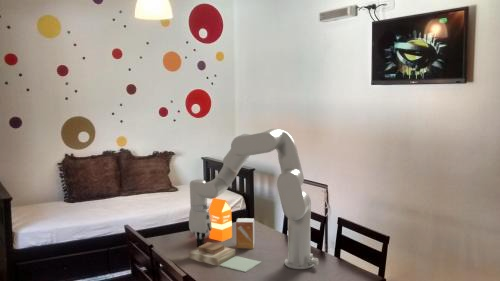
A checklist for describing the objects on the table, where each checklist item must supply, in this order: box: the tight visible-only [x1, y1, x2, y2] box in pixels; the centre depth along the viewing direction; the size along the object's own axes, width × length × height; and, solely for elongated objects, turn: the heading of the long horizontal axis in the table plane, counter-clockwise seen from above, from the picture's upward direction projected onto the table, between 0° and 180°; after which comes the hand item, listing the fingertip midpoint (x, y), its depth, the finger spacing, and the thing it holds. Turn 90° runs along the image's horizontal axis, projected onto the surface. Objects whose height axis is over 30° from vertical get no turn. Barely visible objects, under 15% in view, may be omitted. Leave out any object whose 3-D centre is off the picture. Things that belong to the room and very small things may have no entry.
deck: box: [188, 246, 237, 267], centre depth 211 cm, size 16×13×3 cm
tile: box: [198, 241, 225, 255], centre depth 211 cm, size 9×7×2 cm
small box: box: [235, 217, 255, 250], centre depth 223 cm, size 8×6×13 cm
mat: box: [219, 255, 262, 273], centre depth 203 cm, size 14×12×1 cm
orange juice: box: [208, 197, 233, 242], centre depth 236 cm, size 8×9×20 cm
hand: (200, 246), depth 215 cm, fingers closed
